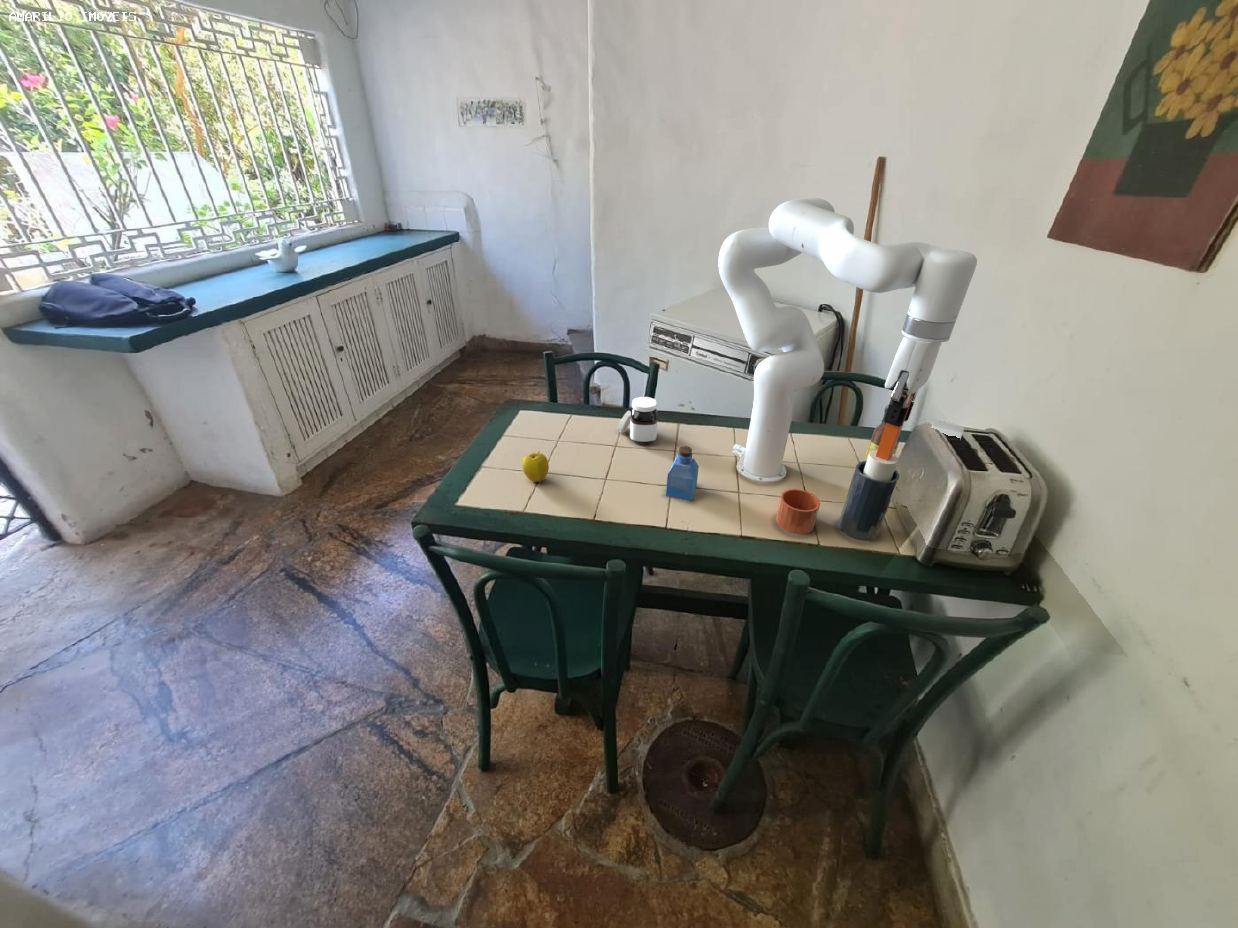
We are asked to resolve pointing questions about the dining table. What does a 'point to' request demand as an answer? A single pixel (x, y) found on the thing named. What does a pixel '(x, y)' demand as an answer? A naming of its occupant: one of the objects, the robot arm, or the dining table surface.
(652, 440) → the spread jar
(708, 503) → the dining table surface
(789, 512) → the brush holder
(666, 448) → the dining table surface
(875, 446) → the sauce bottle
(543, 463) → the apple
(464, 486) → the dining table surface
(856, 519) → the dark blue cylindrical vase
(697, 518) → the dining table surface
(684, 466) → the perfume bottle
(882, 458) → the brush
